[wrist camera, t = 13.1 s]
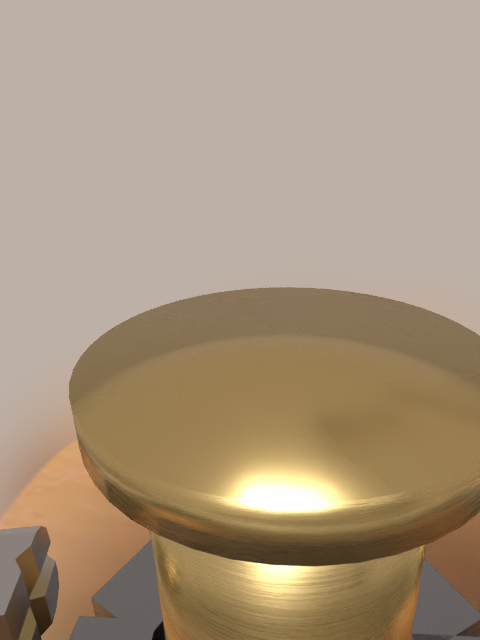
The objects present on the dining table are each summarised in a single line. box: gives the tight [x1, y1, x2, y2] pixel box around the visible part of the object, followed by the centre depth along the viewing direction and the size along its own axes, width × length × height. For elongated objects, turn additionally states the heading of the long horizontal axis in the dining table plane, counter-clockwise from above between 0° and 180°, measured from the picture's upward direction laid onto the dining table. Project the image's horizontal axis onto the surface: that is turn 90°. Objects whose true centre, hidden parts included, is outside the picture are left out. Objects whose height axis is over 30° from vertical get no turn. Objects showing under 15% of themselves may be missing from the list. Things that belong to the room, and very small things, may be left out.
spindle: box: [69, 288, 480, 640], centre depth 9 cm, size 6×6×12 cm
